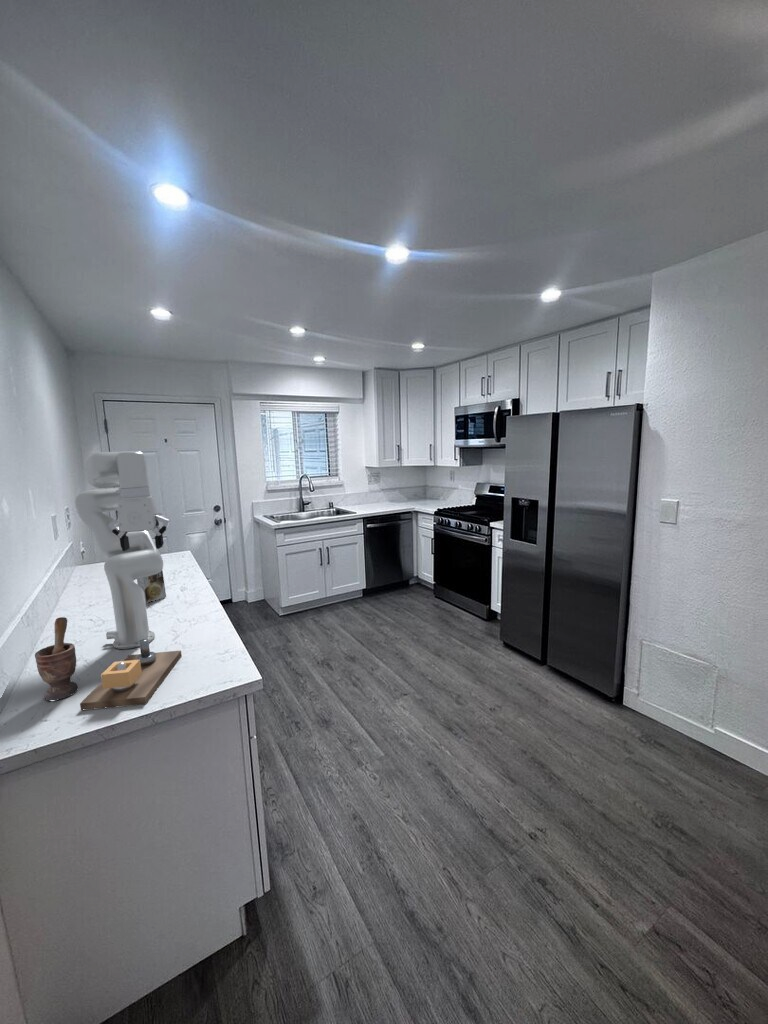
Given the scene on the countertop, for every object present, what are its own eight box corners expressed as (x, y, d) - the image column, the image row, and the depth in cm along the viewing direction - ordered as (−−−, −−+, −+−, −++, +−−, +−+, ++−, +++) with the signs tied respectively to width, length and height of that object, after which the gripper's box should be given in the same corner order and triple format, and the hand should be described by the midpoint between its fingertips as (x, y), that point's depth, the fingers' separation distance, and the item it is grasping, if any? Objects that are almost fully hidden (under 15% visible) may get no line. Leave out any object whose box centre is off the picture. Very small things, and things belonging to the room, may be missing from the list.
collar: (103, 688, 112) (100, 674, 111) (116, 675, 118) (114, 661, 118) (130, 686, 112) (128, 672, 112) (141, 672, 119) (140, 659, 118)
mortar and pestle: (43, 688, 121) (31, 622, 118) (79, 677, 126) (69, 613, 123) (42, 706, 112) (29, 635, 109) (82, 693, 117) (71, 625, 114)
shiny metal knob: (133, 667, 126) (130, 645, 125) (141, 658, 132) (138, 637, 131) (151, 665, 127) (148, 643, 126) (159, 657, 132) (156, 636, 131)
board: (81, 710, 109) (79, 703, 109) (129, 661, 135) (128, 655, 134) (146, 704, 111) (145, 696, 110) (181, 656, 136) (180, 650, 136)
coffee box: (159, 595, 197) (155, 561, 195) (166, 597, 194) (162, 563, 191) (139, 601, 190) (134, 566, 188) (146, 604, 186) (141, 568, 184)
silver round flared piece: (109, 693, 113) (105, 668, 112) (118, 683, 118) (115, 659, 117) (129, 691, 113) (126, 666, 112) (138, 681, 118) (135, 657, 117)
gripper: (97, 496, 122) (106, 553, 125) (160, 492, 124) (167, 549, 126) (111, 493, 129) (119, 548, 132) (170, 490, 131) (177, 544, 134)
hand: (142, 548), depth 129 cm, fingers open, 9 cm apart
